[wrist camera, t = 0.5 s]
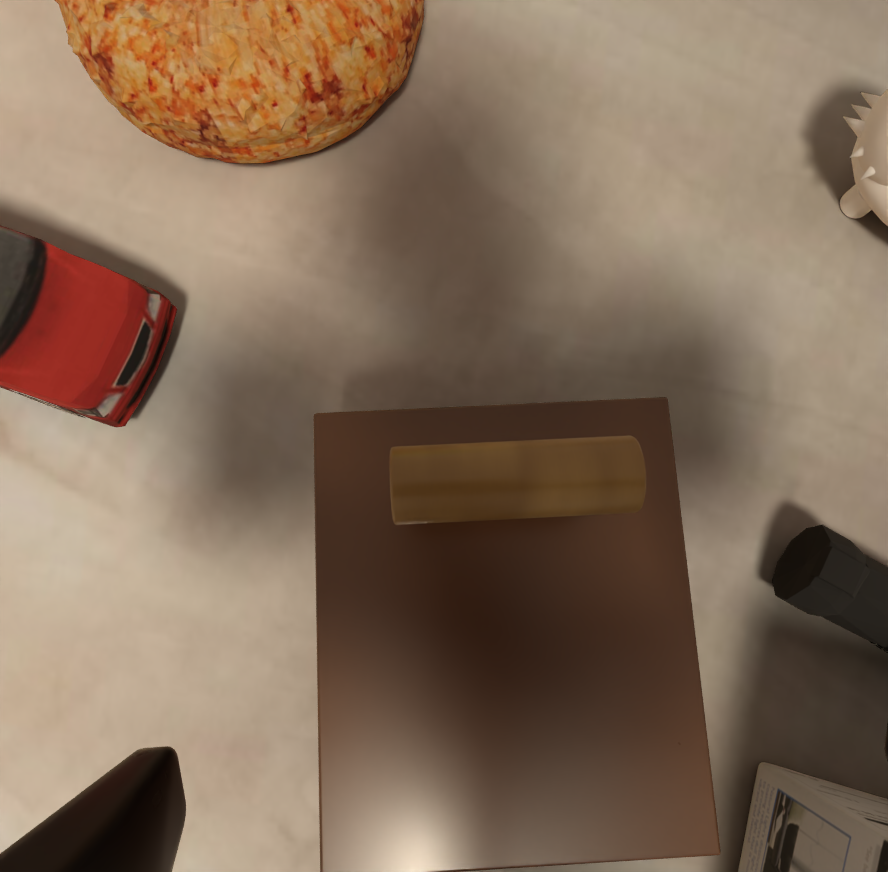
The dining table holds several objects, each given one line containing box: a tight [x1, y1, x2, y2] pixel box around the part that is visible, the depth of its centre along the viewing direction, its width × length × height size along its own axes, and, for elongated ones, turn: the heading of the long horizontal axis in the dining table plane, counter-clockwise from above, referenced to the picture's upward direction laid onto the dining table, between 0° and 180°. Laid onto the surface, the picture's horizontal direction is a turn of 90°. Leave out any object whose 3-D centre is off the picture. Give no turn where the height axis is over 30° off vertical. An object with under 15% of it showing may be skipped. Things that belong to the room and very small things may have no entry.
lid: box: [314, 397, 721, 872], centre depth 15 cm, size 11×9×5 cm
